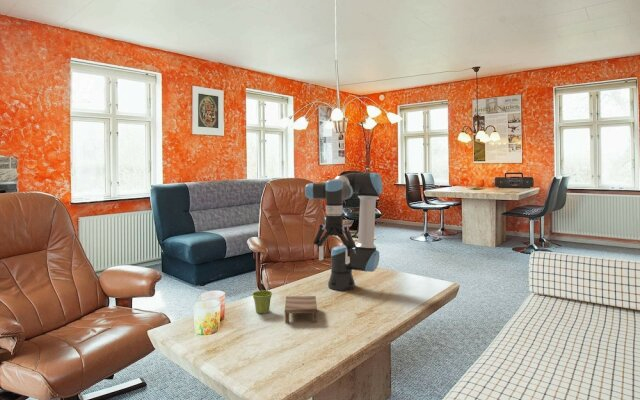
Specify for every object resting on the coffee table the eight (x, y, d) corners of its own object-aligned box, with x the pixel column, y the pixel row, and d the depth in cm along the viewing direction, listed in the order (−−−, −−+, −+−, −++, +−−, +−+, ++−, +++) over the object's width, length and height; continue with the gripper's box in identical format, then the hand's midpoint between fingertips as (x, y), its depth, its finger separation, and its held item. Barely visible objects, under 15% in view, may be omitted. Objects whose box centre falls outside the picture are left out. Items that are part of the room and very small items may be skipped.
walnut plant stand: (286, 308, 191) (286, 296, 191) (315, 308, 192) (315, 295, 191) (284, 323, 173) (284, 309, 173) (317, 322, 174) (317, 309, 174)
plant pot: (248, 311, 187) (248, 293, 187) (264, 306, 194) (263, 289, 194) (260, 316, 181) (260, 297, 180) (276, 311, 188) (276, 293, 187)
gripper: (306, 213, 182) (306, 260, 183) (355, 217, 169) (355, 266, 170) (314, 212, 188) (315, 256, 190) (363, 215, 175) (363, 263, 177)
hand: (334, 261), depth 180 cm, fingers open, 13 cm apart
